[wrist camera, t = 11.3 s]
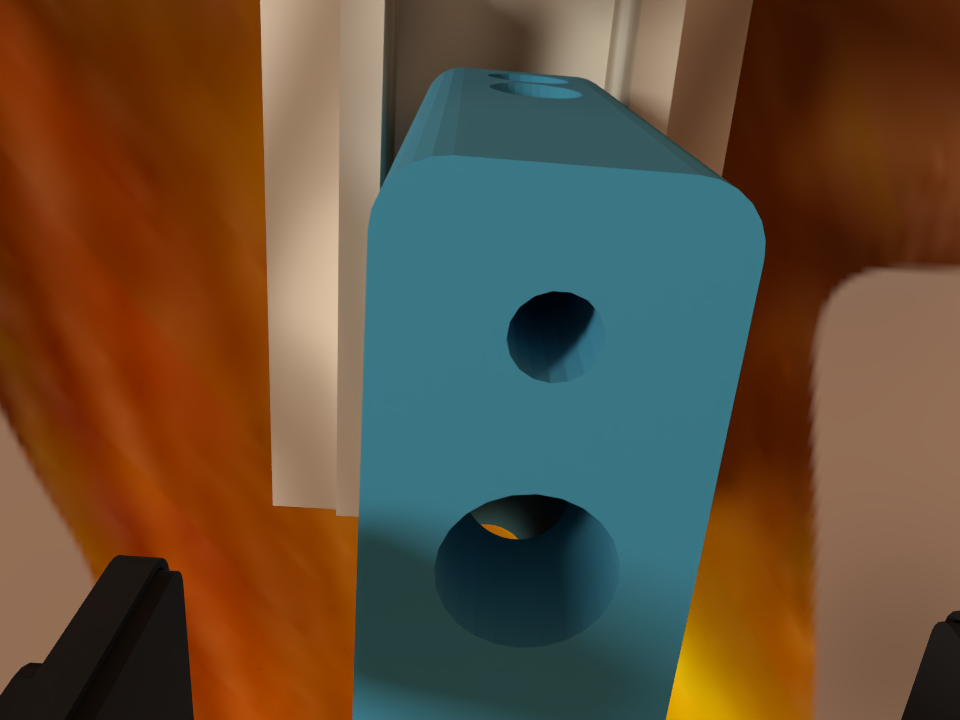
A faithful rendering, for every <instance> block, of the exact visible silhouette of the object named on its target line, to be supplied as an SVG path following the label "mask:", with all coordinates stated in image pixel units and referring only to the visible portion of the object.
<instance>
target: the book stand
mask: <svg viewBox="0 0 960 720" xmlns="http://www.w3.org/2000/svg"><path fill="white" fill-rule="evenodd" d="M752 4H753V0H260V6H261V46H262V86H263V126H264V166H265V206H266V246H267V286H268V326H269V366H270V406H271V446H272V486H273V506H291V507H308V508H326V509H336V515H339V516H357V517H359V492H360V459H361V427H362V395H363V362H364V330H365V297H366V265H367V233H368V225H369V219H370V213H371V209H372V207H373V204H374V202H375V200H376V198H377V196H378V194H379V192H380V189H381V187H382V185H383V183H384V181H385V179H386V177H387V175H388V173H389V171H390V169H391V167H392V164H393V162H394V160H395V158H396V156H397V154H398V152H399V150H400V148H401V146H402V144H403V142H404V139H405V137H406V135H407V133H408V131H409V129H410V127H411V125H412V123H413V121H414V119H415V117H416V114H417V112H418V110H419V108H420V106H421V104H422V102H423V100H424V98H425V96H426V94H427V92H428V89H429V87H430V85H431V84H432V83H433V82H434V80H435V79H436V78H437V77H438V76H439V75H441V74H442V73H444V72H445V71H448V70H451V69H454V68H476V69H488V70H500V71H512V72H524V73H536V74H548V75H560V76H571V77H580V78H584V79H588V80H590V81H592V82H593V83H595V84H597V85H598V86H599V87H601V88H602V89H604V90H605V91H606V92H608V93H609V94H610V95H612V96H613V97H614V98H616V99H617V100H618V101H620V102H621V103H622V104H624V105H625V106H627V107H628V108H629V109H631V110H632V111H633V112H635V113H636V114H637V115H639V116H640V117H641V118H643V119H644V120H645V121H647V122H648V123H650V124H651V125H652V126H654V127H655V128H656V129H658V130H659V131H660V132H662V133H663V134H664V135H666V136H667V137H668V138H670V139H671V140H673V141H674V142H675V143H677V144H678V145H679V146H681V147H682V148H683V149H685V150H686V151H687V152H689V153H690V154H691V155H693V156H694V157H696V158H697V159H698V160H700V161H701V162H702V163H704V164H705V165H706V166H708V167H709V168H710V169H712V170H713V171H714V172H716V173H717V174H719V175H720V176H721V177H722V173H723V167H724V161H725V156H726V150H727V145H728V139H729V133H730V128H731V122H732V117H733V111H734V105H735V100H736V94H737V88H738V83H739V77H740V72H741V66H742V60H743V55H744V49H745V44H746V38H747V32H748V27H749V21H750V16H751V10H752Z"/></svg>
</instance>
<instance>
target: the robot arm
mask: <svg viewBox="0 0 960 720" xmlns="http://www.w3.org/2000/svg"><path fill="white" fill-rule="evenodd" d="M0 720H194V717H193V704H192V691H191V678H190V665H189V652H188V639H187V627H186V614H185V601H184V588H183V579H182V575H181V573H180V572H179V571H169V567H168V563H167V561H166V560H165V559H163V558H154V557H138V556H123V555H118V556H116V557H114V558H113V559H112V561H111V562H110V563H109V565H108V566H107V568H106V569H105V571H104V572H103V574H102V575H101V577H100V578H99V580H98V581H97V583H96V584H95V586H94V587H93V589H92V590H91V592H90V593H89V595H88V596H87V598H86V599H85V601H84V602H83V604H82V605H81V607H80V608H79V610H78V611H77V613H76V614H75V616H74V617H73V619H72V620H71V622H70V623H69V625H68V626H67V628H66V629H65V631H64V632H63V634H62V635H61V637H60V638H59V640H58V641H57V643H56V644H55V646H54V647H53V649H52V650H51V652H50V654H49V655H48V656H47V658H46V659H45V661H44V662H43V663H29V664H27V665H25V666H23V667H22V668H21V669H20V670H19V671H18V672H17V673H16V674H15V676H14V677H13V678H12V679H11V681H10V682H9V684H8V685H7V687H6V688H5V689H4V691H3V692H2V694H1V695H0ZM901 720H960V611H954V612H952V613H951V614H950V615H948V617H947V619H946V621H945V622H938V623H937V624H936V625H935V626H934V628H933V630H932V632H931V635H930V638H929V641H928V644H927V647H926V650H925V653H924V655H923V658H922V661H921V664H920V667H919V670H918V673H917V676H916V679H915V682H914V684H913V687H912V690H911V693H910V696H909V699H908V702H907V704H906V708H905V710H904V713H903V716H902V719H901Z"/></svg>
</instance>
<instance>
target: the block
mask: <svg viewBox="0 0 960 720" xmlns="http://www.w3.org/2000/svg"><path fill="white" fill-rule="evenodd" d="M765 243H766V239H765V234H764V229H763V224H762V220H761V218H760V217H759V215H758V213H757V211H756V209H755V207H754V205H753V203H752V202H751V201H750V200H749V199H748V198H747V197H746V196H745V195H744V194H743V193H742V192H741V191H740V190H739V189H737V188H736V187H735V186H733V185H732V184H731V183H729V182H728V181H727V180H725V179H724V178H723V177H721V176H720V175H719V174H717V173H716V172H714V171H713V170H712V169H710V168H709V167H708V166H706V165H705V164H704V163H702V162H701V161H700V160H698V159H697V158H696V157H694V156H693V155H691V154H690V153H689V152H687V151H686V150H685V149H683V148H682V147H681V146H679V145H678V144H677V143H675V142H674V141H673V140H671V139H670V138H668V137H667V136H666V135H664V134H663V133H662V132H660V131H659V130H658V129H656V128H655V127H654V126H652V125H651V124H650V123H648V122H647V121H645V120H644V119H643V118H641V117H640V116H639V115H637V114H636V113H635V112H633V111H632V110H631V109H629V108H628V107H627V106H625V105H624V104H622V103H621V102H620V101H618V100H617V99H616V98H614V97H613V96H612V95H610V94H609V93H608V92H606V91H605V90H604V89H602V88H601V87H599V86H598V85H597V84H595V83H593V82H592V81H590V80H588V79H584V78H580V77H571V76H560V75H548V74H536V73H524V72H512V71H500V70H488V69H476V68H454V69H451V70H448V71H445V72H444V73H442V74H441V75H439V76H438V77H437V78H436V79H435V80H434V82H433V83H432V84H431V85H430V87H429V89H428V92H427V94H426V96H425V98H424V100H423V102H422V104H421V106H420V108H419V110H418V112H417V114H416V117H415V119H414V121H413V123H412V125H411V127H410V129H409V131H408V133H407V135H406V137H405V139H404V142H403V144H402V146H401V148H400V150H399V152H398V154H397V156H396V158H395V160H394V162H393V164H392V167H391V169H390V171H389V173H388V175H387V177H386V179H385V181H384V183H383V185H382V187H381V189H380V192H379V194H378V196H377V198H376V200H375V202H374V204H373V207H372V209H371V213H370V219H369V225H368V233H367V265H366V297H365V330H364V362H363V395H362V427H361V459H360V492H359V524H358V557H357V589H356V621H355V654H354V686H353V718H352V720H666V715H667V711H668V706H669V701H670V697H671V692H672V687H673V683H674V678H675V673H676V669H677V664H678V659H679V655H680V650H681V645H682V641H683V636H684V631H685V627H686V622H687V617H688V613H689V608H690V603H691V599H692V594H693V590H694V585H695V580H696V576H697V571H698V566H699V562H700V557H701V552H702V548H703V543H704V538H705V534H706V529H707V524H708V520H709V515H710V510H711V506H712V501H713V496H714V492H715V487H716V482H717V478H718V473H719V468H720V464H721V459H722V454H723V450H724V445H725V440H726V436H727V431H728V427H729V422H730V417H731V413H732V408H733V403H734V399H735V394H736V389H737V385H738V380H739V375H740V371H741V366H742V361H743V357H744V352H745V347H746V343H747V338H748V333H749V329H750V324H751V319H752V315H753V310H754V305H755V301H756V296H757V291H758V287H759V282H760V277H761V273H762V268H763V264H764V256H765ZM480 524H490V525H496V526H499V527H502V528H504V529H506V530H508V531H510V532H511V533H513V534H514V535H515V536H516V537H517V538H518V539H519V540H518V539H508V538H503V537H500V536H498V535H495V534H493V533H491V532H490V531H488V530H486V529H485V528H484V527H482V526H481V525H480Z"/></svg>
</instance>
